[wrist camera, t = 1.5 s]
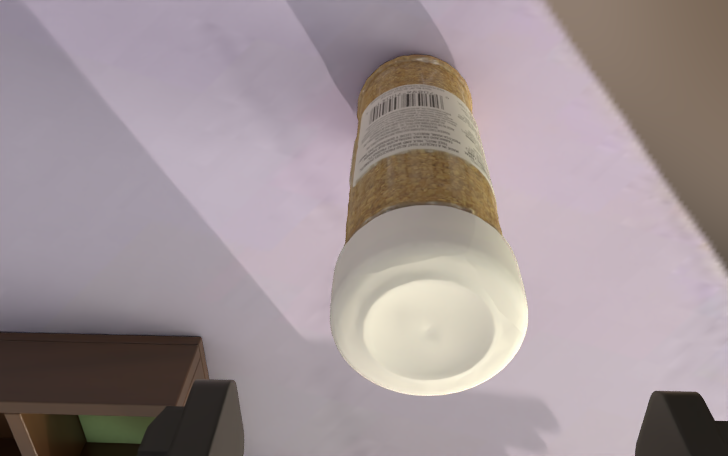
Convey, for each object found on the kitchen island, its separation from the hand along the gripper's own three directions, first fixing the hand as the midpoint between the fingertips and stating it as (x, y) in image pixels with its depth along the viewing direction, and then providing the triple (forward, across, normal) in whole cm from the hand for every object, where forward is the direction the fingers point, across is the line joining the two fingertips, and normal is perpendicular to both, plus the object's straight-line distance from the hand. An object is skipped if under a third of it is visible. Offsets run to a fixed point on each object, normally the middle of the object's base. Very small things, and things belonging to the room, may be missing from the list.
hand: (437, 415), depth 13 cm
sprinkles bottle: (+16, 0, 0) cm, 16 cm away
